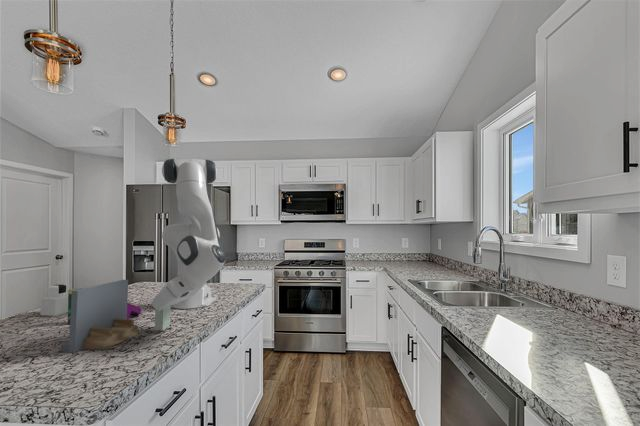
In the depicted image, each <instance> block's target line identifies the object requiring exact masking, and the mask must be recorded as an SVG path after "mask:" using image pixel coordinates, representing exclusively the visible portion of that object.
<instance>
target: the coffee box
mask: <svg viewBox="0 0 640 426" xmlns="http://www.w3.org/2000/svg"><path fill="white" fill-rule="evenodd" d="M78 289H82V288H71V289H68V290H67V291H68V294H67V295H68V312H67V325H69V326H70V318H71V298H72V291H73V290H78Z"/></svg>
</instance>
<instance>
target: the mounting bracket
mask: <svg viewBox="0 0 640 426" xmlns="http://www.w3.org/2000/svg"><path fill="white" fill-rule="evenodd" d="M141 311H142V307H140V306H137V305H134V304H132V303H129V302H127V319H130V317H131V315H137V316H138V315H141V313H142V312H141Z"/></svg>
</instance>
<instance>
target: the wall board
mask: <svg viewBox="0 0 640 426" xmlns="http://www.w3.org/2000/svg"><path fill="white" fill-rule="evenodd" d="M77 289H78V290H73V291H72V298H71V318H70V325H69V339H68V341H66V342H63V343H60V345H59V352H63V353H64V352H65V353H66V352H67V353H77V352H78V351H81V350H83V349H85V348H84V338H87V337H89V336H90V333H91V328H93V327H101V328H112V327H114V320H115V319H127V303H128V298H129V297H128V293H129V279H121V280H116V281H112V282H107V283H102V284H97V285H94V286H93V285H91V286H88V287H83V288H82V289H80V288H77ZM76 351H77V352H76Z"/></svg>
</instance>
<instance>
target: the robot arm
mask: <svg viewBox="0 0 640 426" xmlns="http://www.w3.org/2000/svg"><path fill="white" fill-rule="evenodd" d="M161 173H162V177H163V178H164V181H166V182H167V183H169V184H174V185H175V184H176V186H175V187H176V188H175V189H176V192H175V193H176V198H177V209H178V212H179V215H181V216H183V217H184V218H187V219H188V220H189V221H190V222H191V223H173V224H168V225H166V226H164V228H163V230H162V234H161V238H162V241H163V242H164V244H165V245H167V246H168V247H169V248H170V249H171V250H172V251H173V253H174V255H175V257H176V261H177V276H175V277H174V278H172V279H170V280H169V281H167V283H165V287H163V288H162V289H161V291H159V292H158V293H157V295H156V296H155V297H154V298H153V299H152V301H151V303H150V304H151V306H152V308H153V309H154V311H155V312H156V313H157V314H159V313H161V312H162V311H163V310H164V308H167V307H169V306H170V309H172V308H174V309H180V310H181V309H183V310H188V309H197V308H203V307H205V308H206V307H209V306H210V305H211V304H213V302H216V300H217V297H215V296H212V288H211V287H210V286H209V285H208V284H207V282H208V281H209V280H211V279H212V278H213V277H215V275H216V274H218V272H219V271H220V270H221V269H222V268H223V266H224V265H225V263H226V260H227V258H226V254H225V252H224V251H225V250H224V247H223V244H222V243H221V241H220V238H221V237H220V236H221V232H220V230H219V228H218V226H217V220H216V217H215V212H214V210H213V207H212V205H211V202H210V199H209V196H208V190H207V185H209V184H212V183H214V182H215V181H216V179H217V178H218V177H217V176H218V168H217V166H216V163H215V162H214V161H213V160H210V159H201V158H192V157H191V158H175V159H174V158H169V159H166V160H165V161H164V162H163V164H162V167H161ZM155 312H154V313H155Z"/></svg>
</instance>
